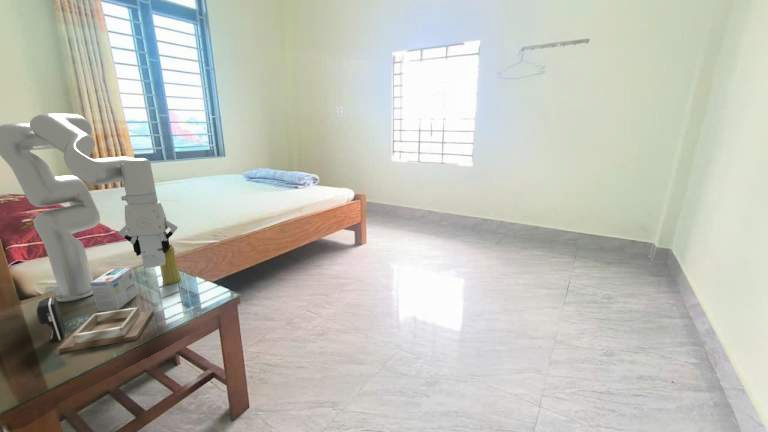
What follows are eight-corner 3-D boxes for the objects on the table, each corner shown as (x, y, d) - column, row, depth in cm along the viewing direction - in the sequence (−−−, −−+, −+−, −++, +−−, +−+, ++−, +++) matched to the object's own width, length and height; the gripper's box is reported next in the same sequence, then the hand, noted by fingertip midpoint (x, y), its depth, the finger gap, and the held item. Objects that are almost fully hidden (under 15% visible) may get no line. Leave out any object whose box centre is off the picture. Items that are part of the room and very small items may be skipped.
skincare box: (143, 269, 106) (136, 232, 102) (144, 264, 109) (136, 229, 106) (166, 264, 109) (160, 229, 106) (166, 260, 112) (160, 226, 109)
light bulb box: (118, 296, 119) (111, 268, 117) (138, 294, 120) (131, 267, 117) (96, 312, 109) (88, 282, 106) (118, 310, 110) (110, 280, 107)
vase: (184, 279, 131) (177, 245, 127) (167, 286, 126) (160, 250, 122) (176, 276, 134) (169, 242, 131) (159, 282, 129) (152, 247, 126)
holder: (59, 352, 90) (55, 340, 89) (86, 324, 102) (83, 313, 101) (137, 339, 95) (134, 327, 94) (153, 313, 108) (151, 303, 107)
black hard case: (48, 334, 98) (37, 299, 95) (66, 329, 100) (55, 294, 97) (45, 345, 93) (33, 309, 90) (64, 340, 95) (53, 304, 92)
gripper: (103, 203, 97) (116, 260, 102) (171, 199, 102) (180, 253, 107) (114, 198, 104) (126, 251, 109) (177, 194, 109) (186, 246, 114)
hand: (153, 252), depth 108 cm, fingers closed on skincare box, 6 cm apart
